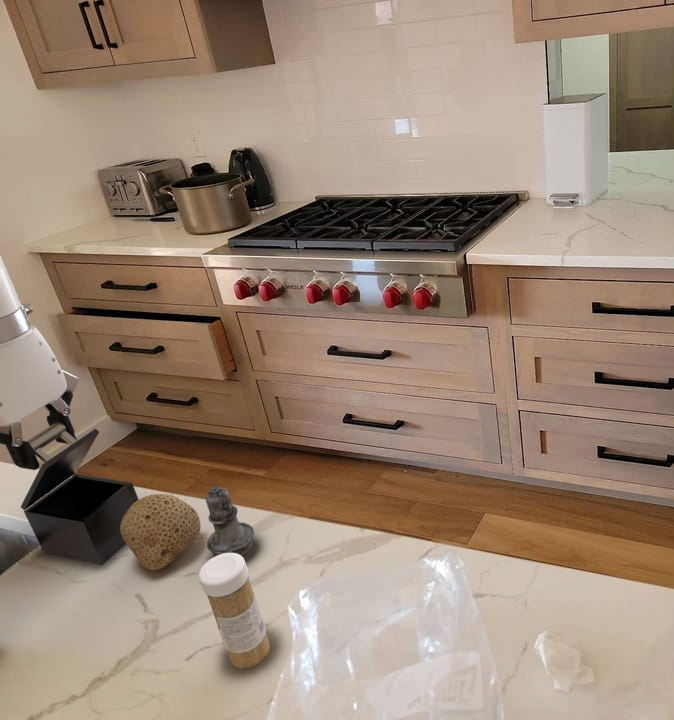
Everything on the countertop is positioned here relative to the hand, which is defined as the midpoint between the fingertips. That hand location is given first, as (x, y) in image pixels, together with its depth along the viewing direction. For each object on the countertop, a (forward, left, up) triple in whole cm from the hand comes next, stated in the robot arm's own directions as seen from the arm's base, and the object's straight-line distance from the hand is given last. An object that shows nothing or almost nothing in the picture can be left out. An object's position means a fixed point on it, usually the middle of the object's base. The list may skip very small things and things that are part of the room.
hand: (48, 453), depth 89 cm
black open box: (+2, -1, -15) cm, 15 cm away
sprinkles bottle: (+20, -32, -15) cm, 40 cm away
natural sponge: (+11, -10, -15) cm, 21 cm away
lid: (+1, -1, -3) cm, 3 cm away
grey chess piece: (+19, -14, -15) cm, 28 cm away
